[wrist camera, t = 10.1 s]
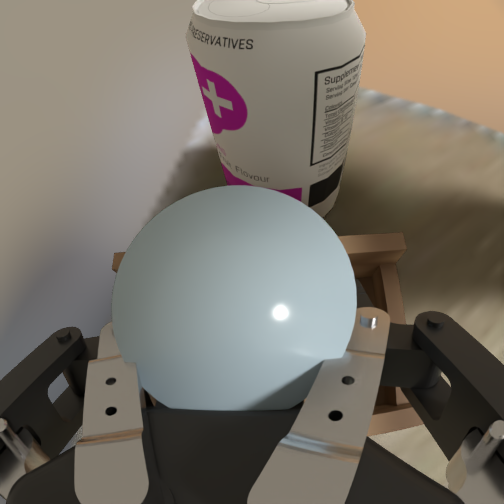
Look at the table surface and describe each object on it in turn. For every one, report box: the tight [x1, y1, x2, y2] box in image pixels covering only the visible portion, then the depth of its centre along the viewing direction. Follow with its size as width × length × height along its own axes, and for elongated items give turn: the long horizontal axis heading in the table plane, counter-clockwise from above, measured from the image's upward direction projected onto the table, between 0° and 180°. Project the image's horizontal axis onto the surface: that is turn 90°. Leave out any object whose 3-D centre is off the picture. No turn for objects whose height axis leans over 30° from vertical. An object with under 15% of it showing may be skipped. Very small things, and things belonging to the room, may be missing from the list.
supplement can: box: [186, 0, 366, 218], centre depth 17 cm, size 8×8×15 cm
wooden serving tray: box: [112, 232, 424, 436], centre depth 16 cm, size 16×10×5 cm, turn 92°
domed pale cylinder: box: [111, 185, 357, 411], centre depth 11 cm, size 6×6×10 cm
